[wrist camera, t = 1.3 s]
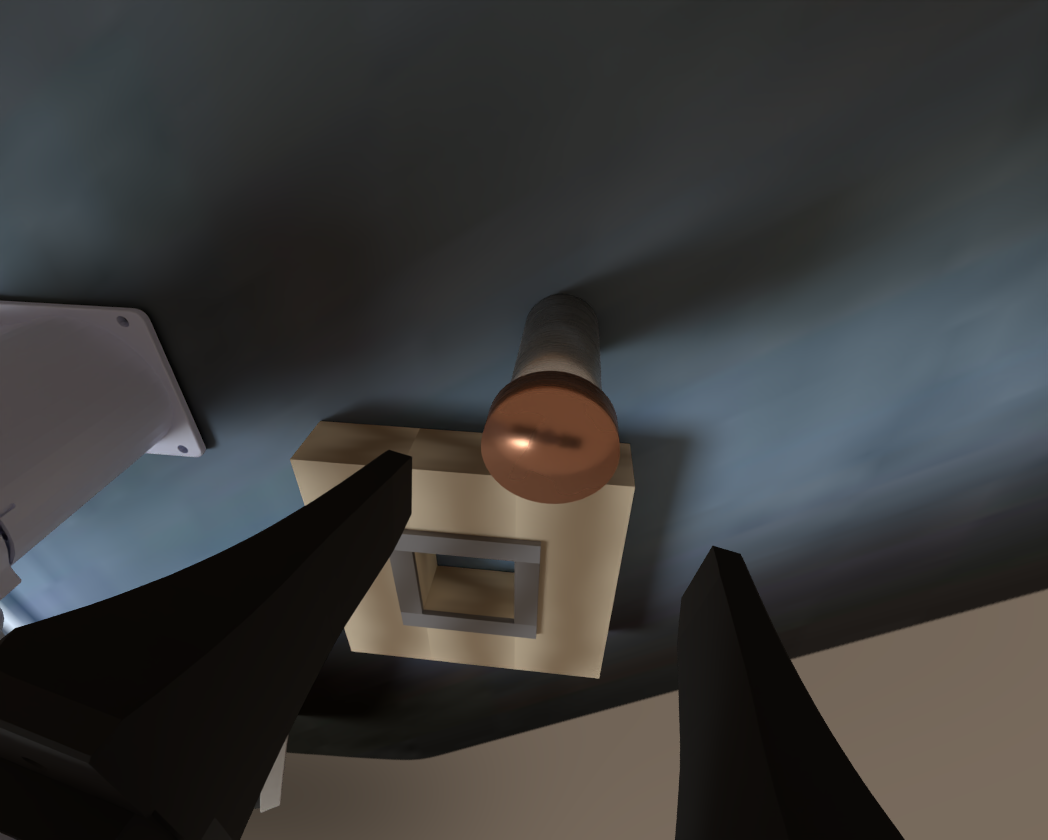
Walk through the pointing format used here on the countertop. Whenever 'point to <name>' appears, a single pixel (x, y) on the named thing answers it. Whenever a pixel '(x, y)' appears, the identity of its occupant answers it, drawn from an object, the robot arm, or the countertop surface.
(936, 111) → the countertop surface
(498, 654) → the block
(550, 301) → the pin
